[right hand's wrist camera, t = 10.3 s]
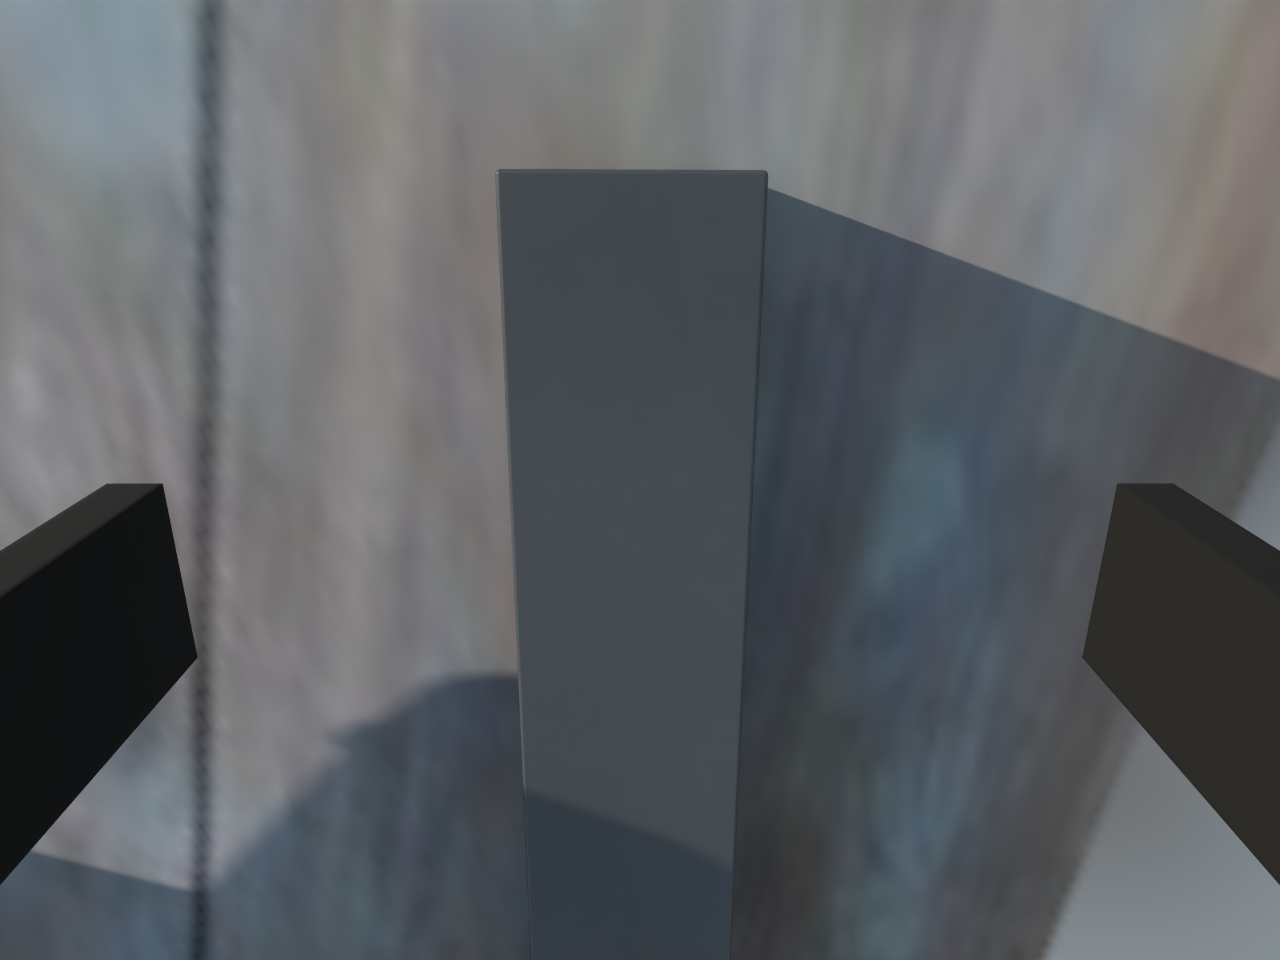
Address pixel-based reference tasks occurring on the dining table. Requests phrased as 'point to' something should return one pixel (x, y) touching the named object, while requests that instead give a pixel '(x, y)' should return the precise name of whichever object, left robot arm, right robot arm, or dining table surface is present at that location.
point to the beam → (631, 544)
